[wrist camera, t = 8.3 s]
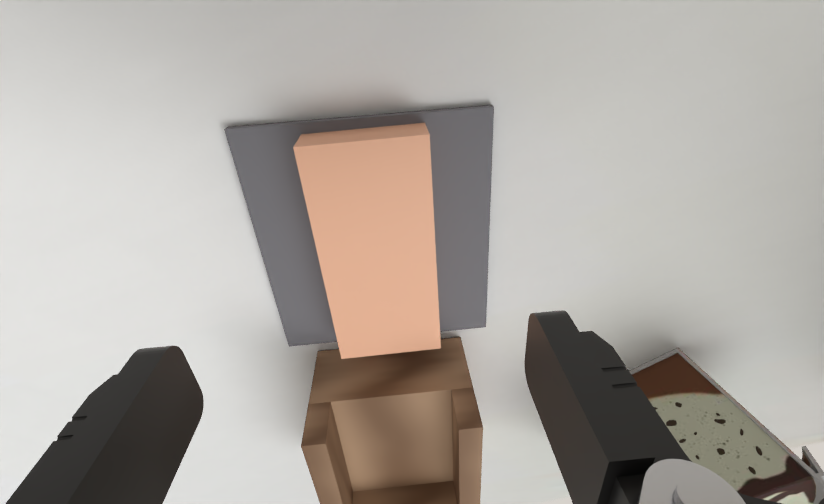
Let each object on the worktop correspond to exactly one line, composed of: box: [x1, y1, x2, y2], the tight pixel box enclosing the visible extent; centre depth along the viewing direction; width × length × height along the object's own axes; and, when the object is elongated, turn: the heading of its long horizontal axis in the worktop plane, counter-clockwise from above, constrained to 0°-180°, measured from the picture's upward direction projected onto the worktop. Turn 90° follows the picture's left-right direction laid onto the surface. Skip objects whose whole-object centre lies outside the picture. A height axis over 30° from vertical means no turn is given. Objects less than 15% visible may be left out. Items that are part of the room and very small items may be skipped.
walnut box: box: [301, 337, 483, 504], centre depth 26 cm, size 9×10×6 cm
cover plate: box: [293, 123, 441, 359], centre depth 21 cm, size 6×12×2 cm, turn 5°
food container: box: [629, 348, 824, 504], centre depth 26 cm, size 12×6×10 cm, turn 125°
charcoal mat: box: [224, 105, 494, 346], centre depth 22 cm, size 12×13×1 cm
